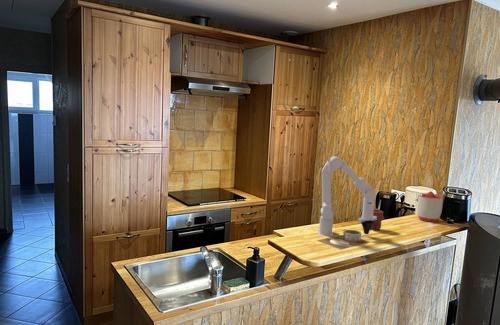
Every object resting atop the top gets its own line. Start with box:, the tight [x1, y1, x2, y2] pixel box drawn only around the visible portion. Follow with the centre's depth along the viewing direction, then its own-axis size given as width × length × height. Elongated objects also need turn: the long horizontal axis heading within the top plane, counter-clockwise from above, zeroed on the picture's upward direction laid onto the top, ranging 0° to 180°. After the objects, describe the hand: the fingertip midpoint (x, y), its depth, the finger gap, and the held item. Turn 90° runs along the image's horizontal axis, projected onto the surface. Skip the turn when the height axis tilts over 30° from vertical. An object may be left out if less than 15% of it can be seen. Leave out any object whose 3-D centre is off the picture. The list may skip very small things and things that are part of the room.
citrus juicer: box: [415, 191, 444, 223], centre depth 252 cm, size 16×17×20 cm
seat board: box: [316, 234, 370, 250], centre depth 194 cm, size 24×16×1 cm, turn 126°
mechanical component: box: [370, 208, 385, 231], centre depth 222 cm, size 12×10×10 cm
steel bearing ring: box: [342, 229, 362, 242], centre depth 198 cm, size 9×9×4 cm
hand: (366, 233), depth 205 cm, fingers closed
